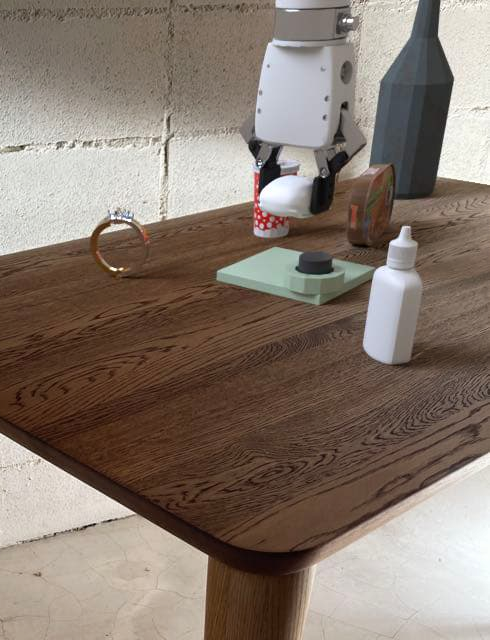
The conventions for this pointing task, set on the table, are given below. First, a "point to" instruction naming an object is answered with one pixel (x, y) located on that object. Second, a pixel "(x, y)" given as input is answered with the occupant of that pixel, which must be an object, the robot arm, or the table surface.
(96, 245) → the ring
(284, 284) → the scale
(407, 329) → the eye dropper bottle
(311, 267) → the button
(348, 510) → the table surface
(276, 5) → the robot arm
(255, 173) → the beverage cup
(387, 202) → the tin
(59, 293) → the table surface
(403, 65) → the bottle
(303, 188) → the garlic
